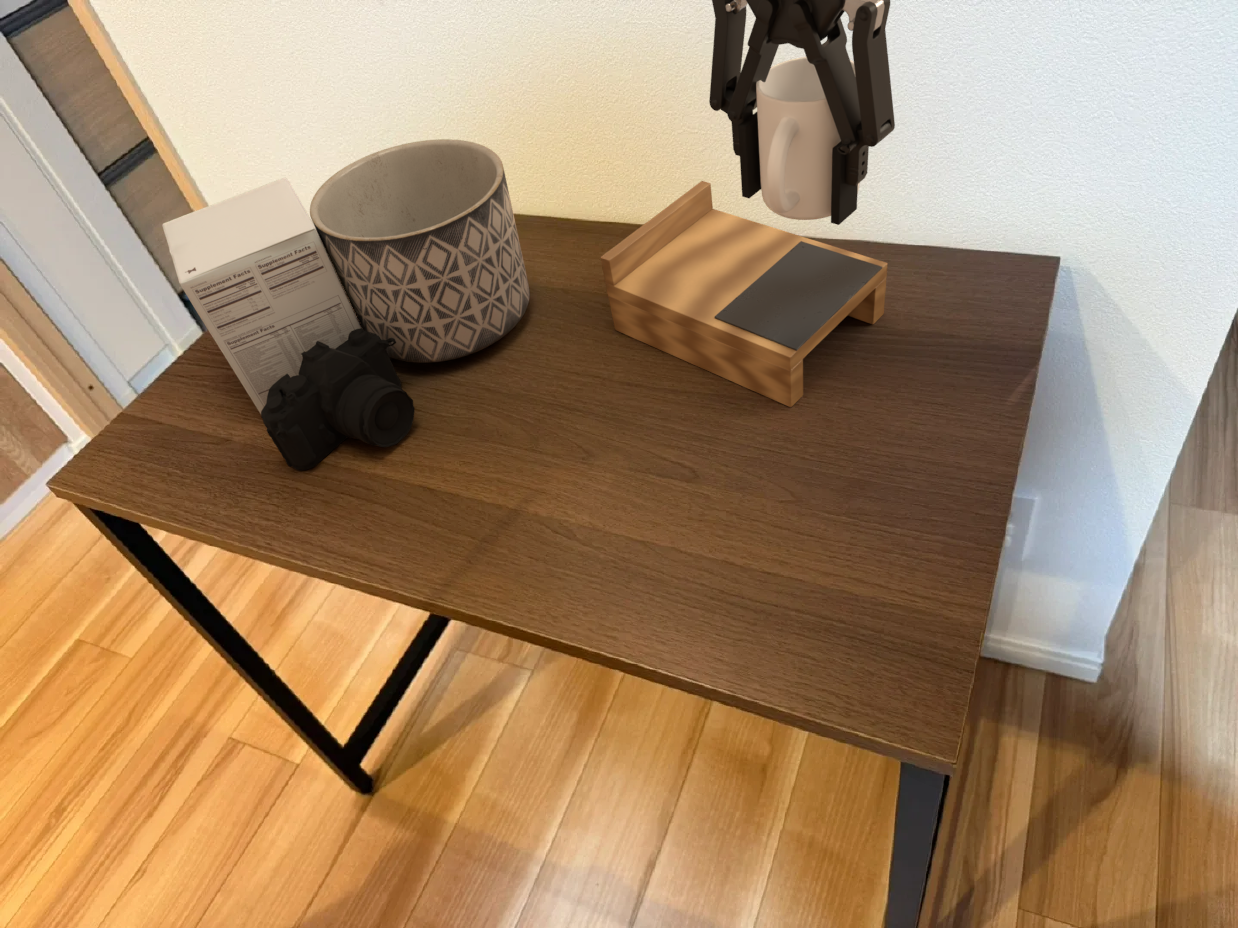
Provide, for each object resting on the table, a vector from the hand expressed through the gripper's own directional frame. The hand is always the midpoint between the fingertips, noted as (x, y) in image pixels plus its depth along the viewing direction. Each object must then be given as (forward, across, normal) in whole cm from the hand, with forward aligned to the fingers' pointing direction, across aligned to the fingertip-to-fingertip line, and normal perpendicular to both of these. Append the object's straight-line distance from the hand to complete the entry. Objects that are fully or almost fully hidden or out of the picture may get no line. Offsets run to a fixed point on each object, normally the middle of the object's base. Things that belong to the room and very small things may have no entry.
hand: (797, 202), depth 74 cm
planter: (+16, -34, -16) cm, 41 cm away
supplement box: (+16, -43, -30) cm, 55 cm away
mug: (+1, 0, 0) cm, 1 cm away
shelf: (+15, -6, 0) cm, 17 cm away
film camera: (+16, -28, -33) cm, 46 cm away
